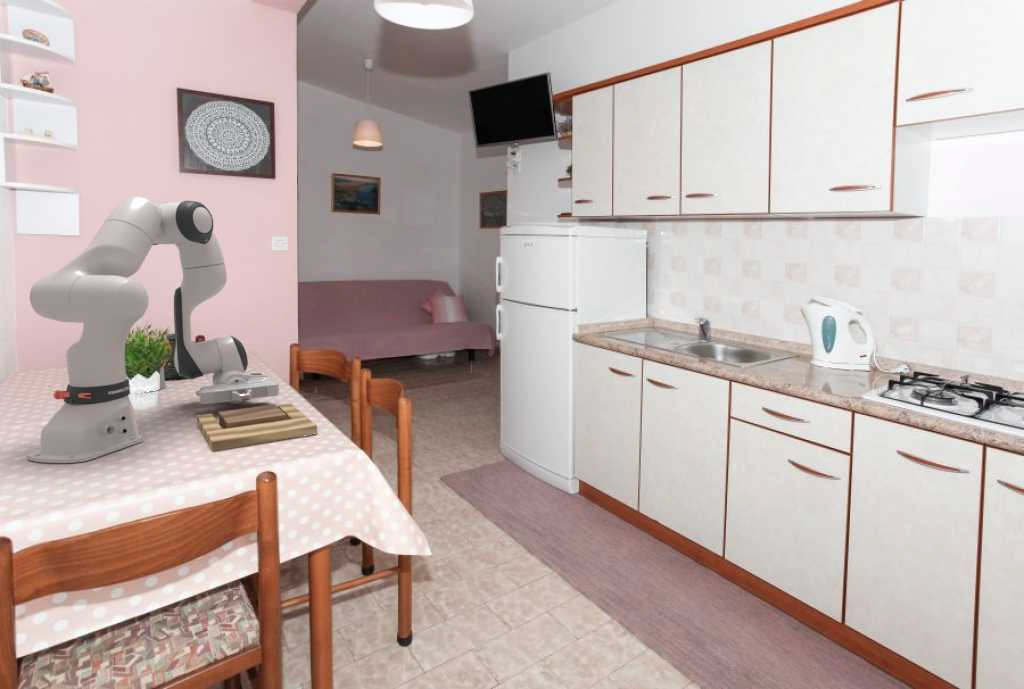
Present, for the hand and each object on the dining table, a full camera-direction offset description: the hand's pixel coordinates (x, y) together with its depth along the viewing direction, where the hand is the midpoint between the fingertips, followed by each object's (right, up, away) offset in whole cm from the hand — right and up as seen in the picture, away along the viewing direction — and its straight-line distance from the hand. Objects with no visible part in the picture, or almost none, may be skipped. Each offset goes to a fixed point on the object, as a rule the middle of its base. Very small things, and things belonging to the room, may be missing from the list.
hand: (244, 397), depth 163 cm
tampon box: (-46, +3, +48) cm, 67 cm away
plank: (+1, -4, 0) cm, 5 cm away
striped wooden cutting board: (+7, -7, -9) cm, 13 cm away
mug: (-46, 0, +30) cm, 55 cm away
